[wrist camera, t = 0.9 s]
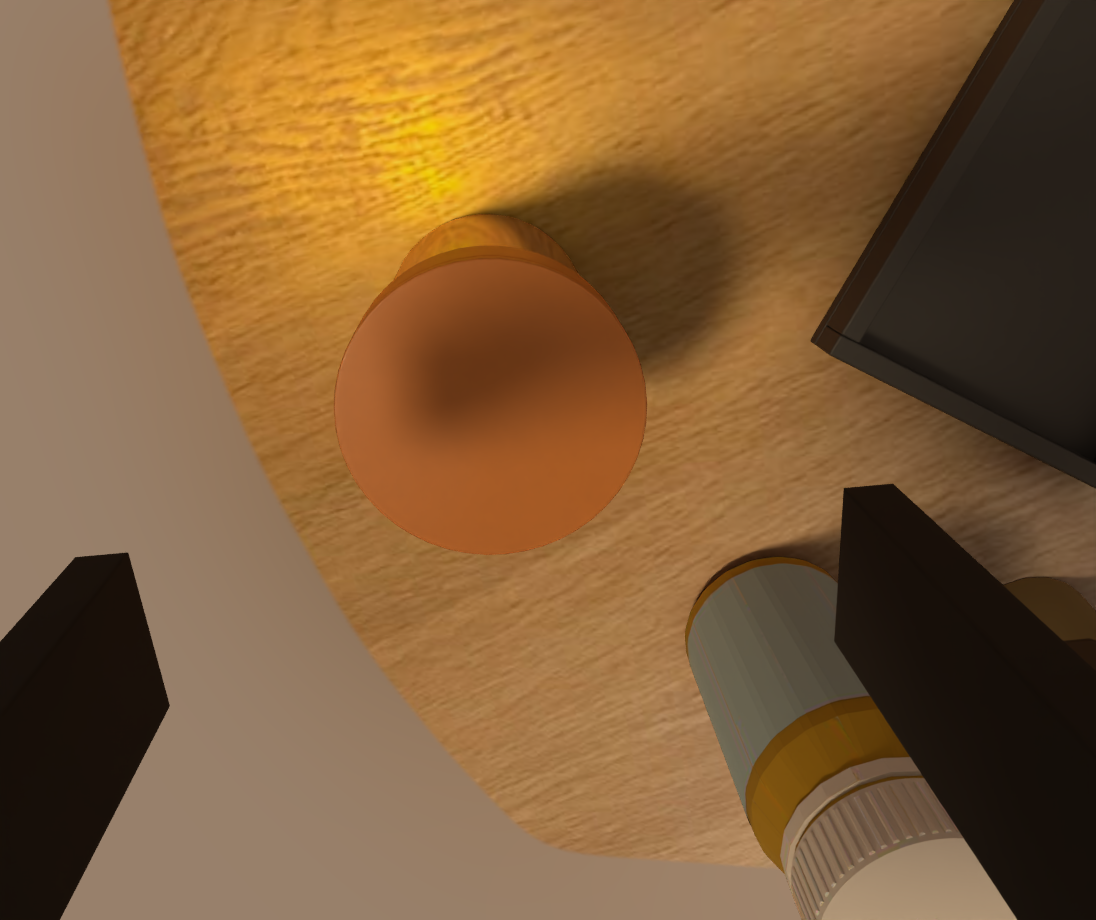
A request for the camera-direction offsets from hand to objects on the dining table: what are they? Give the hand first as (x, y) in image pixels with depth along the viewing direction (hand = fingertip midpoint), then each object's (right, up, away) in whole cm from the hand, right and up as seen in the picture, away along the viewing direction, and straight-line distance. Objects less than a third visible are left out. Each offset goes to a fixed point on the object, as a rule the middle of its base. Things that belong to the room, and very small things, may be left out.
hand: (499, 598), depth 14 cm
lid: (-1, +3, +8) cm, 9 cm away
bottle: (+10, -5, +24) cm, 27 cm away
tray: (+20, +10, +19) cm, 29 cm away
